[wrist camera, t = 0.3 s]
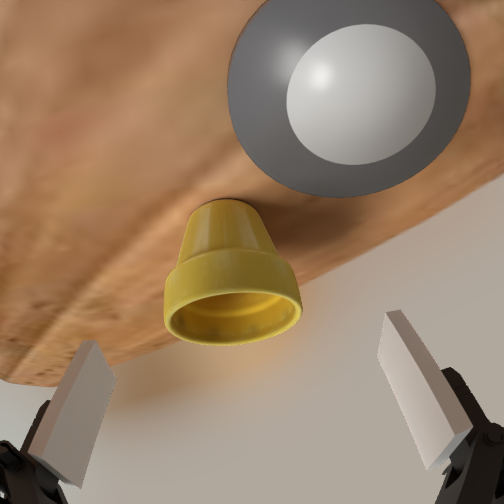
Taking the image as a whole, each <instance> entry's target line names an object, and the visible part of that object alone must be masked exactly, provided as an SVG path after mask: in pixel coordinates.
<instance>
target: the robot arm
mask: <svg viewBox="0 0 504 504" xmlns="http://www.w3.org/2000/svg"><path fill="white" fill-rule="evenodd" d="M377 358H378V360H379V362H380V364H381V366H382V368H383V371H384V373H385V375H386V377H387V379H388V381H389V383H390V386H391V388H392V390H393V392H394V394H395V397H396V399H397V401H398V403H399V406H400V408H401V410H402V412H403V415H404V417H405V419H406V422H407V424H408V426H409V429H410V431H411V434H412V436H413V438H414V441H415V443H416V446H417V448H418V451H419V453H420V456H421V458H422V461H423V463H424V466H425V469H426V470H429V469H432V468H434V467H437V466H439V465H441V464H443V463H444V462H445V461H446V460H447V459H448V458H450V460H451V462H452V463H451V464H450V465H449V466H448V467H447V468H446V469H445V470H444V472H443V473H442V475H445V474H446V473H447V474H446V477H445V480H444V482H443V485H442V487H441V490H440V492H439V495H438V497H437V500H436V502H435V504H504V427H501V426H500V425H499V424H496V423H491V422H490V421H489V420H488V419H487V417H486V416H485V414H484V412H483V410H482V409H481V407H480V405H479V404H478V402H477V400H476V399H475V397H474V396H473V394H472V393H471V391H470V389H469V388H468V386H466V383H465V381H464V380H463V378H462V377H461V375H460V374H459V373H458V372H457V371H455V370H454V369H453V368H451V367H449V368H446V369H443V370H440V369H439V367H438V365H437V364H436V362H435V360H434V359H433V357H432V356H431V354H430V353H429V351H428V350H427V348H426V347H425V345H424V343H423V342H422V341H421V339H420V337H419V336H418V334H417V333H416V331H415V330H414V329H413V327H412V326H411V324H410V323H409V321H408V320H407V318H406V317H405V316H404V314H403V313H402V311H401V310H396V311H391V312H386V313H385V318H384V324H383V329H382V335H381V340H380V345H379V350H378V355H377ZM116 381H117V379H116V377H115V376H114V374H113V372H112V370H111V368H110V367H109V365H108V363H107V361H106V359H105V357H104V355H103V353H102V351H101V350H100V348H99V346H98V344H97V342H96V340H83V342H82V343H81V345H80V347H79V349H78V350H77V352H76V354H75V356H74V357H73V359H72V361H71V363H70V365H69V367H68V368H67V370H66V372H65V374H64V376H63V378H62V380H61V382H60V384H59V386H58V388H57V390H56V391H55V394H54V395H53V398H52V400H51V401H50V400H47V401H46V402H45V403H44V404H43V405H42V406H41V407H40V408H39V411H38V413H37V415H36V418H35V419H34V421H33V423H32V426H31V427H30V429H29V432H28V434H27V436H26V438H25V440H24V443H23V445H22V448H21V449H20V451H18V450H17V449H16V448H15V447H14V446H13V445H12V444H11V443H10V442H9V441H5V440H3V441H0V491H1V492H2V493H4V498H2V497H0V504H68V502H67V500H66V498H65V496H64V493H63V491H62V489H61V487H60V485H59V484H58V481H59V479H60V480H61V481H62V482H64V483H65V484H66V485H68V486H71V487H75V488H78V489H81V487H82V483H83V480H84V477H85V473H86V470H87V467H88V463H89V460H90V457H91V453H92V450H93V447H94V443H95V441H96V437H97V435H98V432H99V429H100V426H101V423H102V420H103V417H104V414H105V411H106V408H107V406H108V403H109V400H110V397H111V395H112V392H113V389H114V386H115V384H116Z"/></svg>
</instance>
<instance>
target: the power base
mask: <svg viewBox="0 0 504 504" xmlns="http://www.w3.org/2000/svg"><path fill="white" fill-rule="evenodd" d="M227 92H228V103H229V112H230V116H231V120H232V124H233V128H234V130H235V133H236V135H237V137H238V140H239V142H240V144H241V145H242V147H243V149H244V150H245V152H246V154H247V155H248V156H249V157H250V158H251V160H252V161H253V162H254V163H255V164H256V165H257V166H258V167H259V168H260V169H261V170H262V171H263V172H264V173H265V174H267V175H268V176H270V177H271V178H272V179H274V180H275V181H277V182H279V183H281V184H283V185H284V186H286V187H288V188H291V189H293V190H296V191H299V192H302V193H306V194H310V195H314V196H321V197H330V198H346V197H356V196H363V195H368V194H372V193H376V192H379V191H382V190H385V189H388V188H391V187H393V186H395V185H397V184H400V183H402V182H404V181H405V180H407V179H409V178H411V177H412V176H414V175H415V174H417V173H418V172H420V171H421V170H423V169H424V168H425V167H426V166H427V165H429V164H430V163H431V162H432V161H433V160H434V159H435V158H436V157H437V156H438V155H439V154H440V153H441V152H442V151H443V150H444V148H445V147H446V146H447V145H448V143H449V142H450V141H451V139H452V138H453V136H454V134H455V133H456V131H457V129H458V127H459V125H460V123H461V121H462V119H463V116H464V113H465V111H466V107H467V103H468V99H469V95H470V94H469V93H470V65H469V59H468V55H467V51H466V48H465V45H464V42H463V40H462V38H461V35H460V33H459V31H458V29H457V28H456V26H455V24H454V23H453V21H452V20H451V18H450V17H449V16H448V15H447V13H446V12H445V11H444V10H443V9H442V8H441V7H440V6H439V5H438V4H437V3H436V2H435V1H434V0H267V1H266V2H264V3H263V4H262V5H261V6H260V7H259V8H258V9H257V11H256V12H255V13H254V14H253V15H252V16H251V18H250V19H249V20H248V22H247V23H246V25H245V27H244V28H243V30H242V31H241V33H240V35H239V37H238V39H237V42H236V44H235V46H234V49H233V51H232V55H231V59H230V63H229V68H228V78H227Z"/></svg>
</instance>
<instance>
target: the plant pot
mask: <svg viewBox="0 0 504 504" xmlns="http://www.w3.org/2000/svg"><path fill="white" fill-rule="evenodd" d="M302 311H303V307H302V302H301V297H300V292H299V288H298V284H297V281H296V277H295V274H294V271H293V269H292V267H291V266H290V265H289V263H288V262H287V261H285V260H284V259H283V258H281V257H280V256H279V254H278V252H277V250H276V248H275V246H274V244H273V242H272V240H271V238H270V236H269V234H268V232H267V230H266V228H265V226H264V224H263V221H262V219H261V217H260V215H259V214H258V212H257V211H256V210H255V209H254V208H253V207H252V206H250V205H248V204H246V203H244V202H242V201H238V200H231V199H222V200H215V201H211V202H208V203H206V204H204V205H202V206H200V207H199V208H197V209H196V210H195V211H194V212H193V213H192V215H191V216H190V218H189V220H188V224H187V227H186V231H185V235H184V239H183V242H182V246H181V250H180V253H179V257H178V261H177V265H176V267H175V268H174V269H173V270H172V271H171V272H170V274H169V276H168V277H167V280H166V283H165V291H164V322H165V325H166V327H167V329H168V330H169V331H170V332H171V333H172V334H173V335H175V336H176V337H178V338H180V339H182V340H185V341H188V342H192V343H197V344H203V345H214V346H215V345H216V346H228V345H240V344H246V343H253V342H257V341H261V340H264V339H268V338H271V337H273V336H276V335H278V334H280V333H283V332H284V331H286V330H288V329H289V328H291V327H292V326H293V325H295V324H296V323H297V322H298V320H299V319H300V317H301V315H302Z"/></svg>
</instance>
